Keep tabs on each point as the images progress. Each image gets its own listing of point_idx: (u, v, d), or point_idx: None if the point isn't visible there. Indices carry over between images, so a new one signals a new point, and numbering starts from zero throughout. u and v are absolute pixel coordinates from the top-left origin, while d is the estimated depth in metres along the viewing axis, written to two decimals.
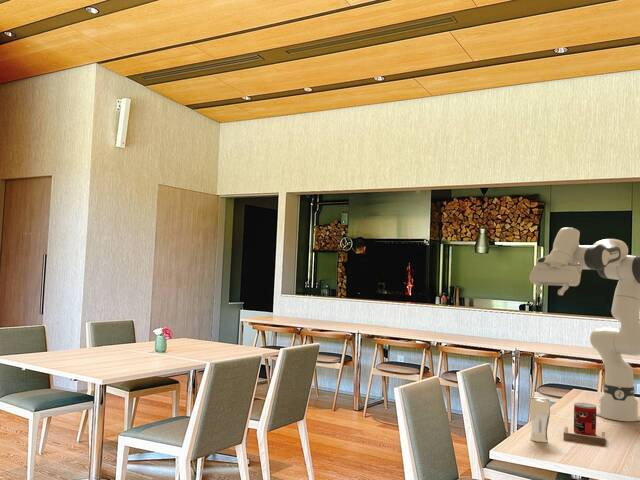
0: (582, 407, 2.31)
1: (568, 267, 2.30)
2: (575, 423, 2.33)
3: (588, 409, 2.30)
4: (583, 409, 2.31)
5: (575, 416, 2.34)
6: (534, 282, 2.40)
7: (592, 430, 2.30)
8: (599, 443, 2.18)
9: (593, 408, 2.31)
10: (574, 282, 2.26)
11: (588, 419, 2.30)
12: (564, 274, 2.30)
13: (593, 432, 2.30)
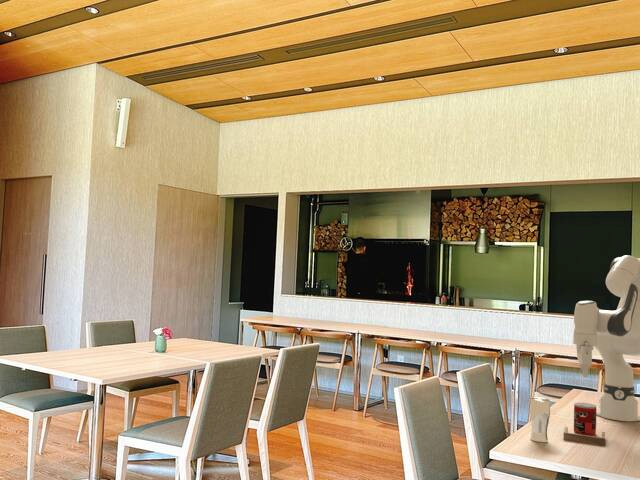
0: (582, 407, 2.31)
1: (581, 348, 2.37)
2: (575, 423, 2.33)
3: (588, 409, 2.30)
4: (583, 409, 2.31)
5: (575, 416, 2.34)
6: None
7: (592, 430, 2.30)
8: (599, 443, 2.18)
9: (593, 408, 2.31)
10: (584, 365, 2.33)
11: (588, 419, 2.30)
12: None
13: (593, 432, 2.30)
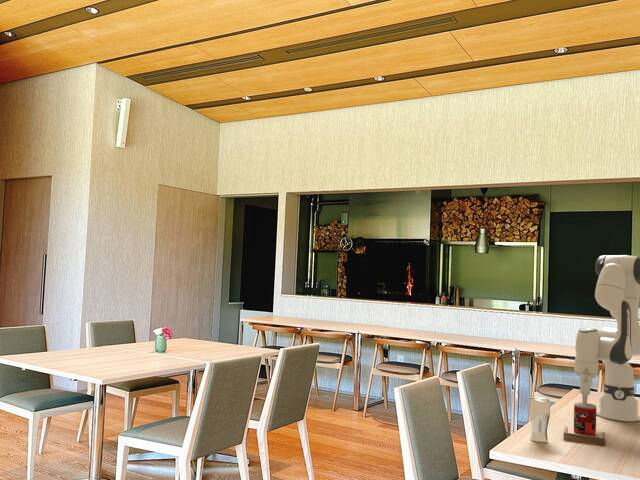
0: (582, 407, 2.31)
1: None
2: (575, 423, 2.33)
3: (588, 409, 2.30)
4: (583, 409, 2.31)
5: (575, 416, 2.34)
6: None
7: (592, 430, 2.30)
8: (599, 443, 2.18)
9: (593, 408, 2.31)
10: (582, 393, 2.34)
11: (588, 419, 2.30)
12: None
13: (593, 432, 2.30)
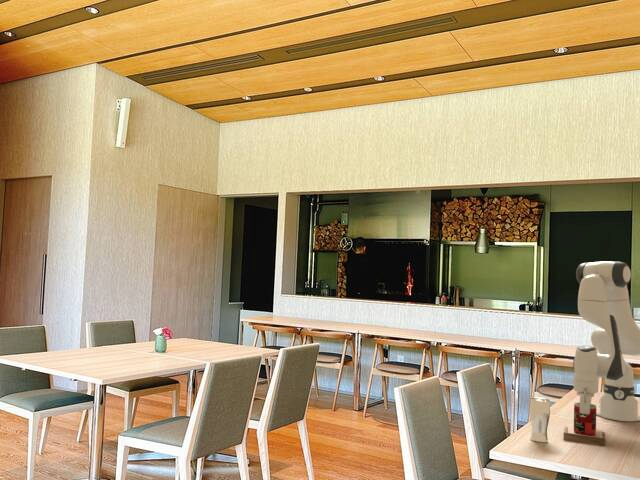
0: None
1: None
2: (575, 423, 2.33)
3: None
4: None
5: (575, 416, 2.34)
6: None
7: (592, 430, 2.30)
8: (599, 443, 2.18)
9: (593, 408, 2.31)
10: (582, 413, 2.31)
11: (588, 419, 2.30)
12: None
13: (593, 432, 2.30)
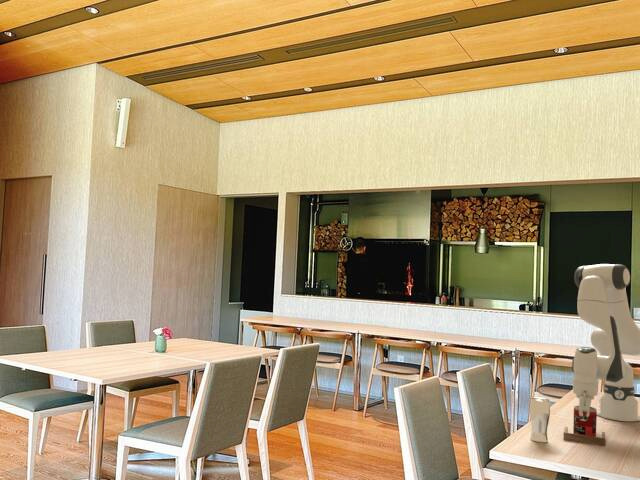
0: (582, 411, 2.25)
1: None
2: (575, 427, 2.27)
3: None
4: (583, 413, 2.25)
5: (574, 419, 2.27)
6: None
7: (592, 434, 2.24)
8: (599, 443, 2.18)
9: (593, 411, 2.25)
10: None
11: (589, 423, 2.24)
12: None
13: None
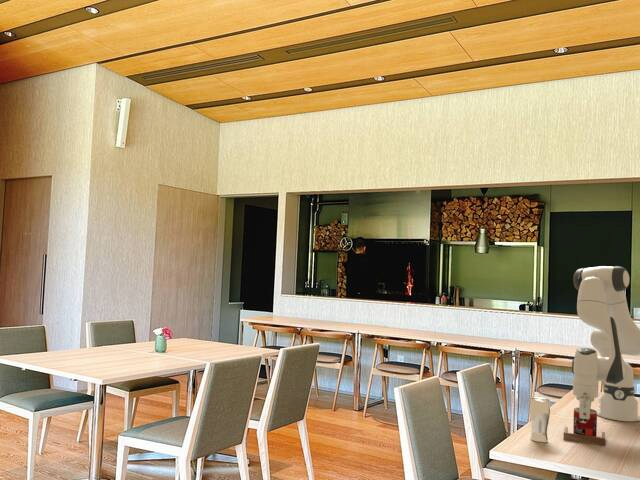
0: None
1: None
2: (575, 429, 2.24)
3: None
4: None
5: (574, 421, 2.24)
6: None
7: None
8: (599, 443, 2.18)
9: (594, 413, 2.21)
10: None
11: (589, 425, 2.21)
12: None
13: None
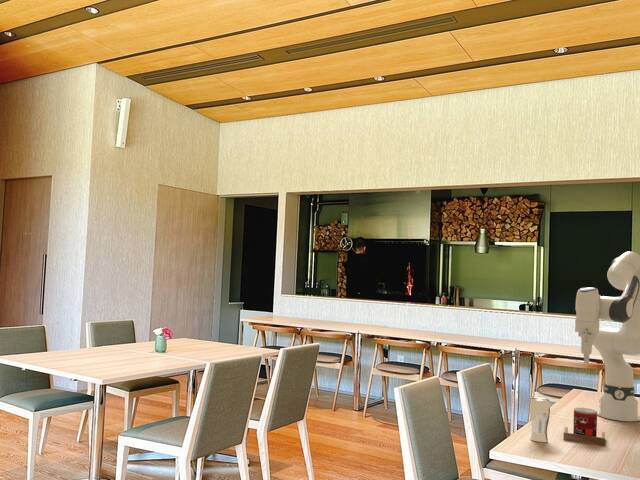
0: (582, 413, 2.22)
1: None
2: (575, 429, 2.24)
3: (589, 415, 2.21)
4: (583, 415, 2.21)
5: (574, 421, 2.24)
6: None
7: None
8: (599, 443, 2.18)
9: (594, 413, 2.21)
10: (583, 352, 2.30)
11: (589, 425, 2.21)
12: None
13: None
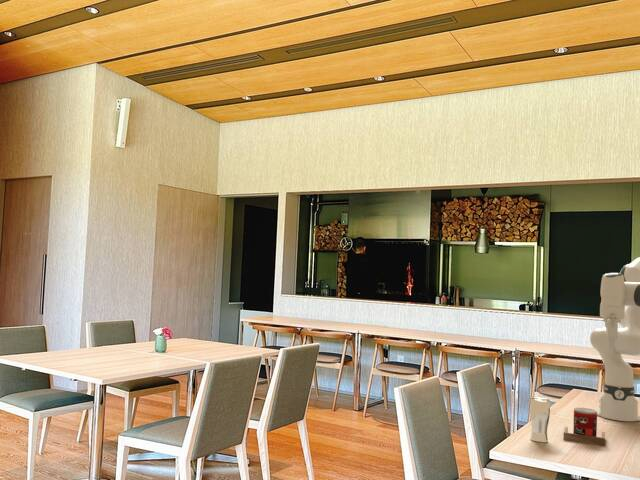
0: (582, 412, 2.22)
1: None
2: (575, 429, 2.24)
3: (589, 415, 2.21)
4: (583, 415, 2.21)
5: (574, 421, 2.24)
6: None
7: None
8: (599, 443, 2.18)
9: (594, 413, 2.21)
10: (609, 337, 2.29)
11: (589, 425, 2.21)
12: None
13: None
